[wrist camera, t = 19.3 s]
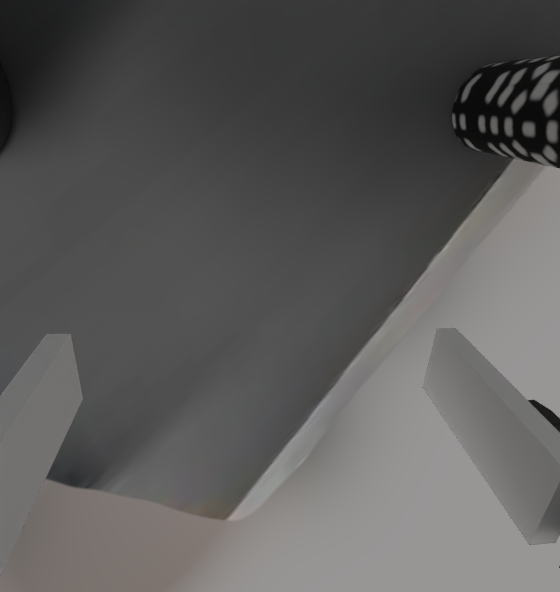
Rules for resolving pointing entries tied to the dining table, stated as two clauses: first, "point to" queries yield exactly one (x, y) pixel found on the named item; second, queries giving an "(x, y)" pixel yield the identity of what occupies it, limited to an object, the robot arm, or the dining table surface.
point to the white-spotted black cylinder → (512, 110)
